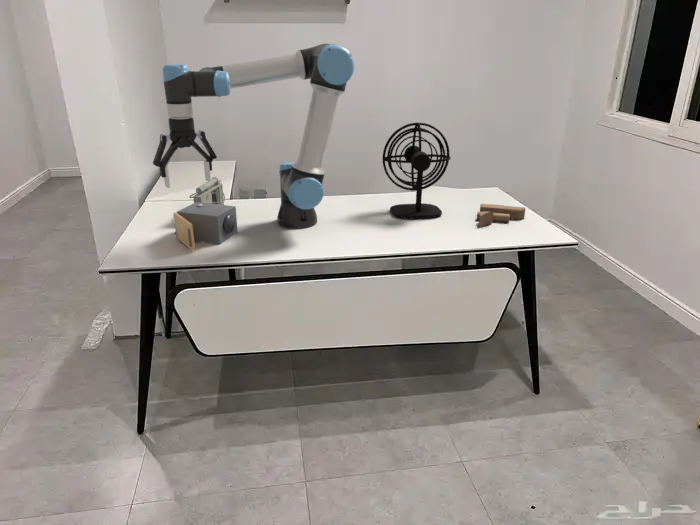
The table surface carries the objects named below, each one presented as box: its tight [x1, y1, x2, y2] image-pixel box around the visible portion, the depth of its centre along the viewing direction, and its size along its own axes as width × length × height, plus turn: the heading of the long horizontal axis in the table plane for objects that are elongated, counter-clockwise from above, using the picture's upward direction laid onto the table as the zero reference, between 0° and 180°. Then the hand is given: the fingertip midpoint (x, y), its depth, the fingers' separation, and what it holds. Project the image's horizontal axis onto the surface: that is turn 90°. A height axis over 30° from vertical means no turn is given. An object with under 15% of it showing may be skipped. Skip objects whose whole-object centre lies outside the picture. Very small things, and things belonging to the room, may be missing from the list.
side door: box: [173, 211, 196, 252], centre depth 183 cm, size 15×2×9 cm, turn 36°
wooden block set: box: [476, 203, 526, 228], centre depth 208 cm, size 17×6×18 cm
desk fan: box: [382, 122, 451, 219], centre depth 212 cm, size 27×18×35 cm, turn 97°
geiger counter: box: [189, 175, 226, 205], centre depth 214 cm, size 14×6×25 cm
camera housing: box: [176, 202, 239, 245], centre depth 191 cm, size 17×12×11 cm
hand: (188, 183), depth 178 cm, fingers open, 13 cm apart
